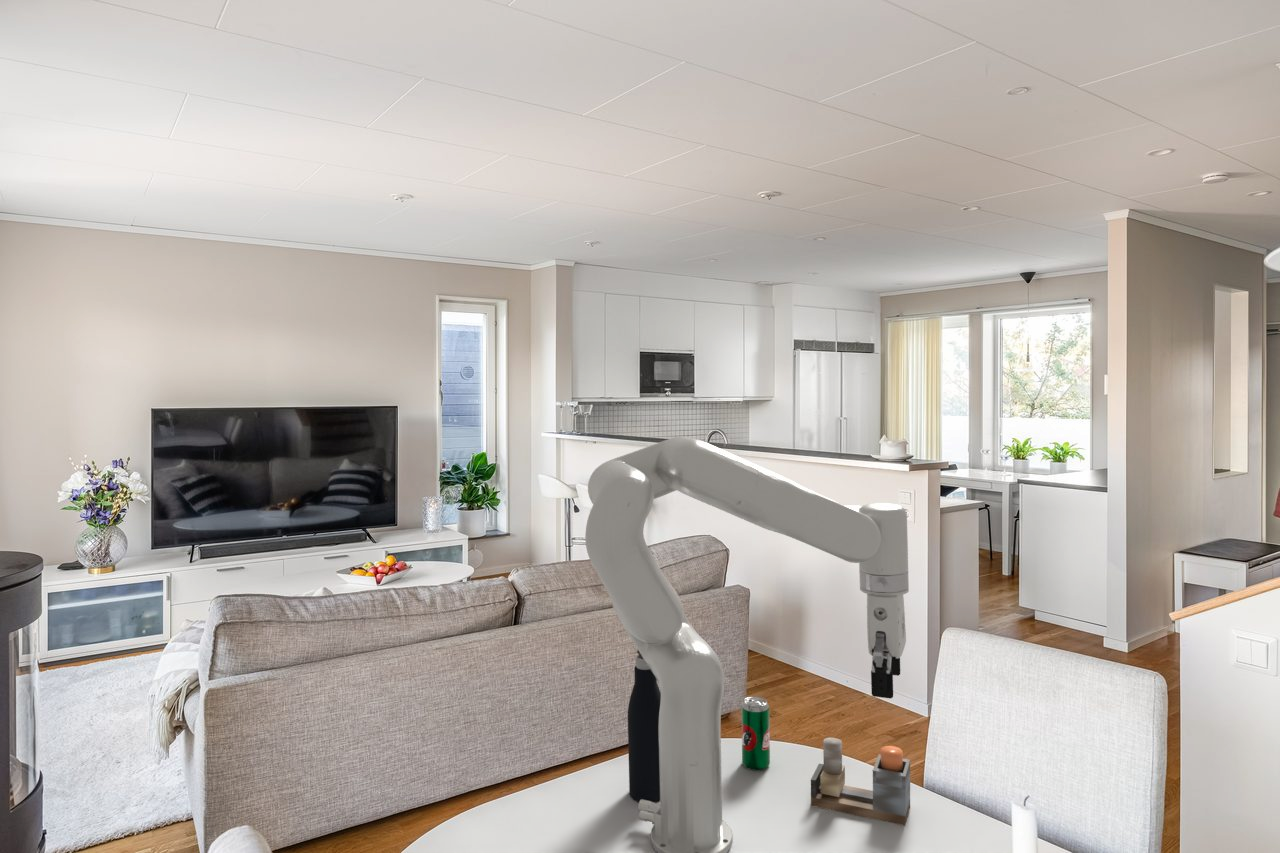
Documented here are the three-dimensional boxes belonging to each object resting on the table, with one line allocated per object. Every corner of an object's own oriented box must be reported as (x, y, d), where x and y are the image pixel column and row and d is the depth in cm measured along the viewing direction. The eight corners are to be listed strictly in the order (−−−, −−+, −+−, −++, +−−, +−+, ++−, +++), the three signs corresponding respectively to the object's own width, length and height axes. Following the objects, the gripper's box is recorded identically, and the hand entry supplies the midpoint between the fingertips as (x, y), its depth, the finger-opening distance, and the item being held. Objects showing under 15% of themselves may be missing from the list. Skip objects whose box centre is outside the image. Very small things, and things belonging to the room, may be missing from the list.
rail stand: (811, 805, 134) (810, 758, 133) (819, 788, 139) (818, 743, 138) (905, 825, 127) (905, 776, 127) (910, 807, 132) (910, 759, 132)
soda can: (769, 772, 145) (768, 707, 144) (741, 770, 146) (740, 705, 145) (770, 759, 150) (769, 696, 149) (743, 757, 151) (742, 694, 150)
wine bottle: (624, 800, 136) (620, 626, 134) (635, 782, 143) (632, 615, 141) (661, 805, 135) (657, 629, 133) (670, 786, 141) (667, 618, 139)
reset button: (879, 769, 130) (879, 753, 129) (882, 759, 133) (882, 744, 132) (901, 773, 128) (901, 757, 128) (904, 763, 131) (904, 748, 131)
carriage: (820, 793, 133) (820, 746, 133) (827, 779, 138) (826, 733, 137) (838, 797, 132) (838, 749, 131) (844, 782, 136) (844, 736, 136)
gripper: (902, 597, 120) (905, 709, 121) (913, 569, 135) (916, 668, 137) (850, 594, 123) (853, 703, 124) (867, 566, 138) (870, 664, 140)
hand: (886, 685), depth 130 cm, fingers open, 9 cm apart
